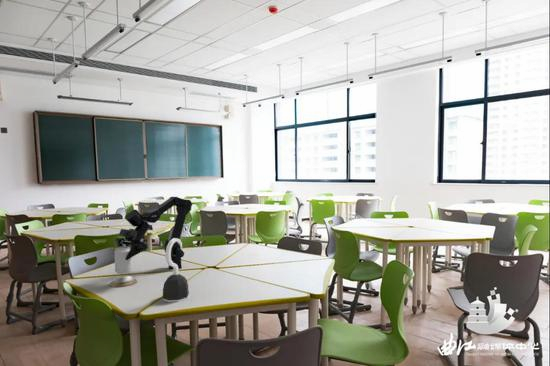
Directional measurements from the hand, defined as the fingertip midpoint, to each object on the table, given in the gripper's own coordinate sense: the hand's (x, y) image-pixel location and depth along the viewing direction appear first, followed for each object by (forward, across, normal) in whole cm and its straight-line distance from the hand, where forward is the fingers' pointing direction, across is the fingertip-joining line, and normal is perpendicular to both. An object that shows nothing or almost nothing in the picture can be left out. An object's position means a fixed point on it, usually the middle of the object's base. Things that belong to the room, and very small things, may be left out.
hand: (120, 258), depth 168 cm
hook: (+10, +38, +8) cm, 40 cm away
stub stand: (+8, 0, +9) cm, 12 cm away
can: (+4, 0, +6) cm, 7 cm away
